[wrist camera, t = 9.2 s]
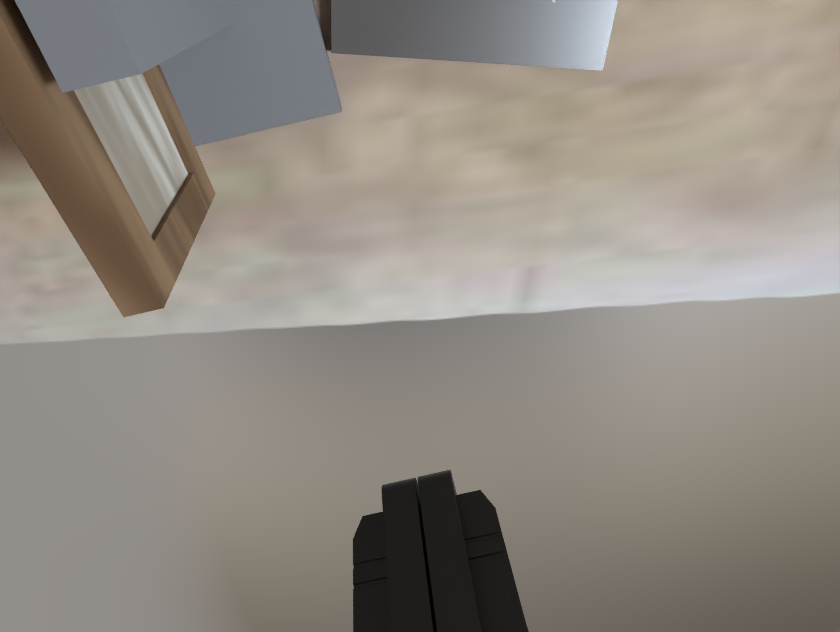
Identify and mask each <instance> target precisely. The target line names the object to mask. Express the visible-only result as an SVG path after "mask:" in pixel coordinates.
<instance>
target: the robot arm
mask: <svg viewBox="0 0 840 632" xmlns="http://www.w3.org/2000/svg"><path fill="white" fill-rule="evenodd" d="M382 504H383V512H379V513H375V514H371V515H366V516H363V517H362V519H361V521H360V524H359V526H358V528H357V531H356V533H355V536H354V538H353V565H354V569H353V585H354V589H353V625H354V626H353V632H528V628H527V625H526V622H525V618H524V614H523V611H522V607H521V604H520V599H519V596H518V592H517V588H516V584H515V580H514V577H513V573H512V569H511V566H510V562H509V558H508V555H507V550H506V547H505V543H504V539H503V536H502V532H501V528H500V524H499V521H498V517H497V513H496V509H495V507H494V506H493V505H492V503H491V502H490V501H489V500H488V499H487V498H486V496H485V495H484V494H483V493H482V492H481V490H478V491H473V492H469V493H464V494H460V495H457V494H456V490H455V486H454V481H453V478H452V474H451V470H447V471H443V472H438V473H434V474H429V475H425V476H420V477H418V483H417V480H416V478H412V479H407V480H403V481H398V482H394V483H389V484H385V485H382Z"/></svg>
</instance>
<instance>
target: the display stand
mask: <svg viewBox="0 0 840 632" xmlns="http://www.w3.org/2000/svg"><path fill="white" fill-rule="evenodd" d="M15 2H16V4H17V6H18V8H19V10H20V11H21V13H22V15H23V17H24V19H25V21H26V23H27V25H28V27H29V29H30V31H31V33H32V35H33V37H34V39H35V40H36V42H37V44H38V46H39V48H40V50H41V52H42V54H43V56H44V58H45V60H46V62H47V64H48V66H49V68H50V70H51V72H52V74H53V75H54V77H55V79H56V81H57V83H58V85H59V87H60V89H61V91H62V93H64V92H68V91H72V90H76V89H81V88H85V87H89V86H93V85H97V84H102V83H106V82H110V81H114V80H119V79H123V78H127V77H131V76H135V75H140V74H142V73H144V72H145V71H147V70H149V69H151V68H153V67H155V66H156V65H158V64H159V65H160V67H161V70H162V72H163V74H164V77H165V79H166V81H167V84H168V86H169V88H170V91H171V93H172V95H173V97H174V100H175V102H176V104H177V107H178V109H179V111H180V114H181V116H182V118H183V120H184V123H185V125H186V127H187V130H188V132H189V134H190V137H191V139H192V141H193V144H194V146H198V145H202V144H207V143H211V142H215V141H219V140H224V139H228V138H232V137H236V136H241V135H245V134H249V133H253V132H258V131H262V130H266V129H270V128H275V127H279V126H283V125H287V124H292V123H296V122H300V121H305V120H309V119H313V118H317V117H322V116H326V115H330V114H334V113H339V112H341V109H342V107H341V103H340V99H339V95H338V92H337V88H336V84H335V80H334V77H333V73H332V69H331V65H330V62H329V58H328V54H327V50H326V47H325V43H324V39H323V35H322V32H321V28H320V24H319V20H318V16H317V13H316V9H315V5H314V1H313V0H15Z"/></svg>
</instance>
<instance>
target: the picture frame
mask: <svg viewBox="0 0 840 632" xmlns="http://www.w3.org/2000/svg"><path fill="white" fill-rule="evenodd" d="M0 118H1V120H2V121H3V123H4V125H5V126H6V128H7V130H8V131H9V133H10V134H11V136H12V138H13V139H14V141H15V142H16V144H17V146H18V147H19V149H20V151H21V152H22V154H23V155H24V157H25V159H26V160H27V162H28V163H29V165H30V167H31V168H32V170H33V172H34V173H35V175H36V176H37V178H38V180H39V181H40V183H41V184H42V186H43V188H44V189H45V191H46V193H47V194H48V196H49V197H50V199H51V201H52V202H53V204H54V205H55V207H56V209H57V210H58V212H59V214H60V215H61V217H62V218H63V220H64V222H65V223H66V225H67V227H68V228H69V230H70V231H71V233H72V235H73V236H74V238H75V239H76V241H77V243H78V244H79V246H80V248H81V249H82V251H83V252H84V254H85V256H86V257H87V259H88V260H89V262H90V264H91V265H92V267H93V269H94V270H95V272H96V273H97V275H98V277H99V278H100V280H101V281H102V283H103V285H104V286H105V288H106V290H107V291H108V293H109V294H110V296H111V298H112V299H113V301H114V302H115V304H116V306H117V307H118V309H119V311H120V312H121V314H122V315H123V317H127V316H131V315H135V314H140V313H144V312H148V311H153V310H157V309H161V308H164V306H165V304H166V302H167V300H168V297H169V295H170V293H171V291H172V289H173V286H174V284H175V282H176V280H177V277H178V275H179V273H180V271H181V269H182V266H183V264H184V262H185V260H186V258H187V255H188V253H189V251H190V249H191V246H192V244H193V242H194V240H195V238H196V235H197V233H198V231H199V229H200V227H201V224H202V222H203V220H204V218H205V215H206V213H207V211H208V209H209V207H210V204H211V202H212V200H213V198H214V196H215V192H214V190H213V187H212V185H211V183H210V180H209V178H208V176H207V174H206V171H205V169H204V167H203V164H202V162H201V160H200V157H199V155H198V153H197V150H196V148H195V146H194V144H193V141H192V139H191V137H190V134H189V132H188V130H187V127H186V125H185V123H184V120H183V118H182V116H181V114H180V111H179V109H178V107H177V104H176V102H175V100H174V97H173V95H172V93H171V91H170V88H169V86H168V84H167V81H166V79H165V77H164V74H163V72H162V70H161V67H160V65H159V64H158V65H156V66H155V67H153V68H151V69H149V70H147V71H145V72H144V73H142V74H140V75H135V76H131V77H127V78H123V79H119V80H114V81H110V82H106V83H102V84H97V85H93V86H89V87H85V88H81V89H76V90H72V91H68V92H64V93H62V91H61V89H60V87H59V85H58V83H57V81H56V79H55V77H54V75H53V74H52V72H51V70H50V68H49V66H48V64H47V62H46V60H45V58H44V56H43V54H42V52H41V50H40V48H39V46H38V44H37V42H36V40H35V39H34V37H33V35H32V33H31V31H30V29H29V27H28V25H27V23H26V21H25V19H24V17H23V15H22V13H21V11H20V10H19V8H18V6H17V4H16V2H15V0H0Z"/></svg>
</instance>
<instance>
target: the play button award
mask: <svg viewBox="0 0 840 632" xmlns="http://www.w3.org/2000/svg"><path fill="white" fill-rule="evenodd" d="M617 2H618V0H331V53H340V54H355V55H371V56H386V57H402V58H417V59H433V60H448V61H464V62H479V63H495V64H510V65H526V66H541V67H557V68H572V69H588V70H603V65H604V61H605V56H606V52H607V47H608V43H609V38H610V34H611V29H612V25H613V20H614V16H615V11H616V7H617Z"/></svg>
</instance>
